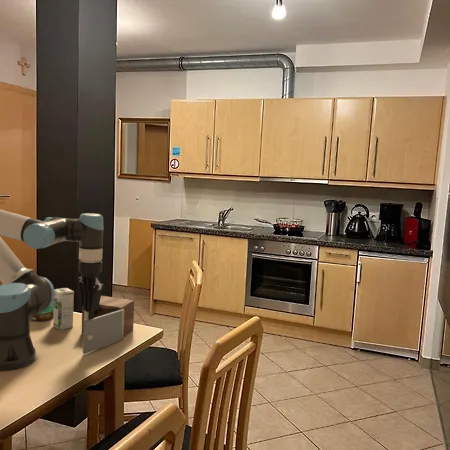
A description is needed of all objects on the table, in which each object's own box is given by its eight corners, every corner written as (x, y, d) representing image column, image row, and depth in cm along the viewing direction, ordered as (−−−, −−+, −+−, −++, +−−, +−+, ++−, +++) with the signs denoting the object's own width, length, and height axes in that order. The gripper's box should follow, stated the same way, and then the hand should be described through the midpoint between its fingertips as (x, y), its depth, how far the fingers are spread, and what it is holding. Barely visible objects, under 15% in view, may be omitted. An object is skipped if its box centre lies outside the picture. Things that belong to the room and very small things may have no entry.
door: (121, 338, 164) (122, 309, 162) (126, 340, 162) (127, 310, 161) (82, 353, 149) (83, 321, 148) (87, 355, 148) (87, 322, 147)
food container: (34, 325, 173) (35, 299, 172) (26, 321, 177) (26, 296, 176) (63, 318, 183) (63, 294, 182) (54, 314, 187) (55, 290, 186)
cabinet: (81, 333, 168) (82, 301, 166) (96, 324, 178) (96, 295, 176) (120, 339, 164) (121, 307, 162) (133, 330, 173) (134, 300, 172)
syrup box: (52, 326, 173) (52, 289, 172) (67, 323, 177) (68, 287, 176) (58, 330, 169) (59, 292, 168) (73, 327, 173) (74, 290, 172)
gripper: (111, 262, 148) (109, 331, 151) (90, 255, 157) (88, 321, 160) (91, 265, 143) (89, 336, 146) (70, 258, 151) (68, 325, 154)
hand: (88, 328), depth 153 cm, fingers closed
